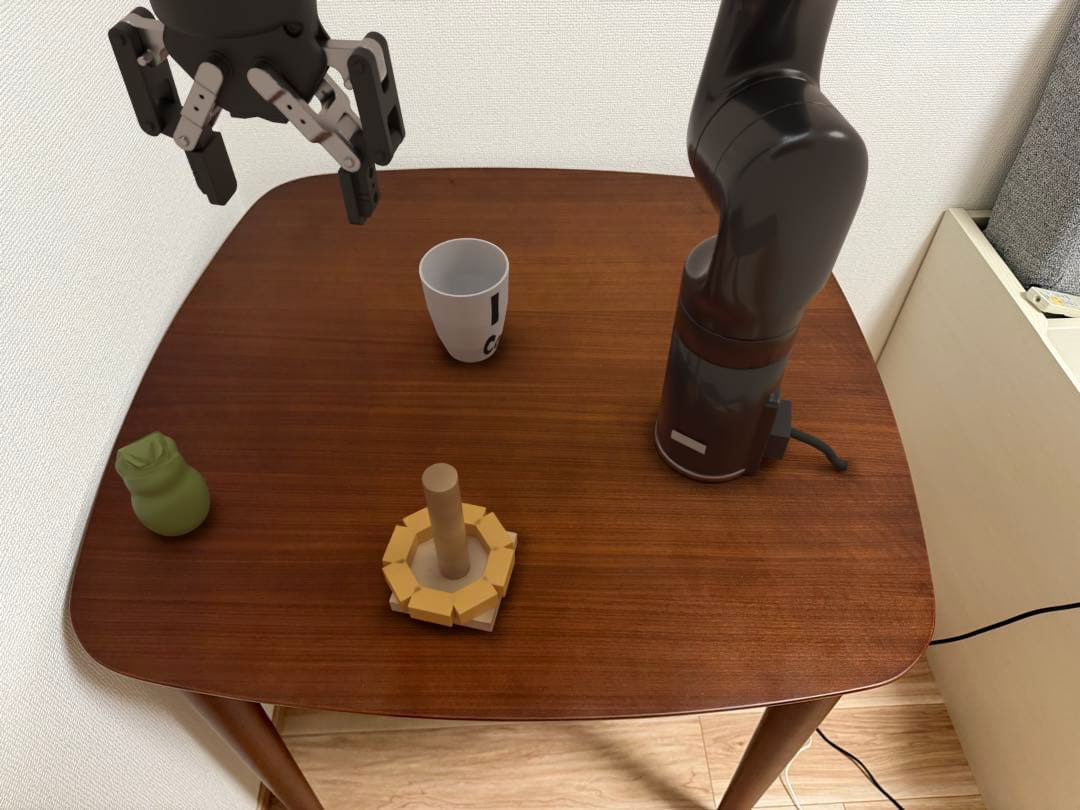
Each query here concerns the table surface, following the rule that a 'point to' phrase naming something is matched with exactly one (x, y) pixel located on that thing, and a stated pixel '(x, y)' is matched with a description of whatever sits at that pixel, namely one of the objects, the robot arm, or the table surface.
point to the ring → (470, 597)
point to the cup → (466, 295)
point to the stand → (449, 544)
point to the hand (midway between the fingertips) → (293, 207)
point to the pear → (163, 485)
